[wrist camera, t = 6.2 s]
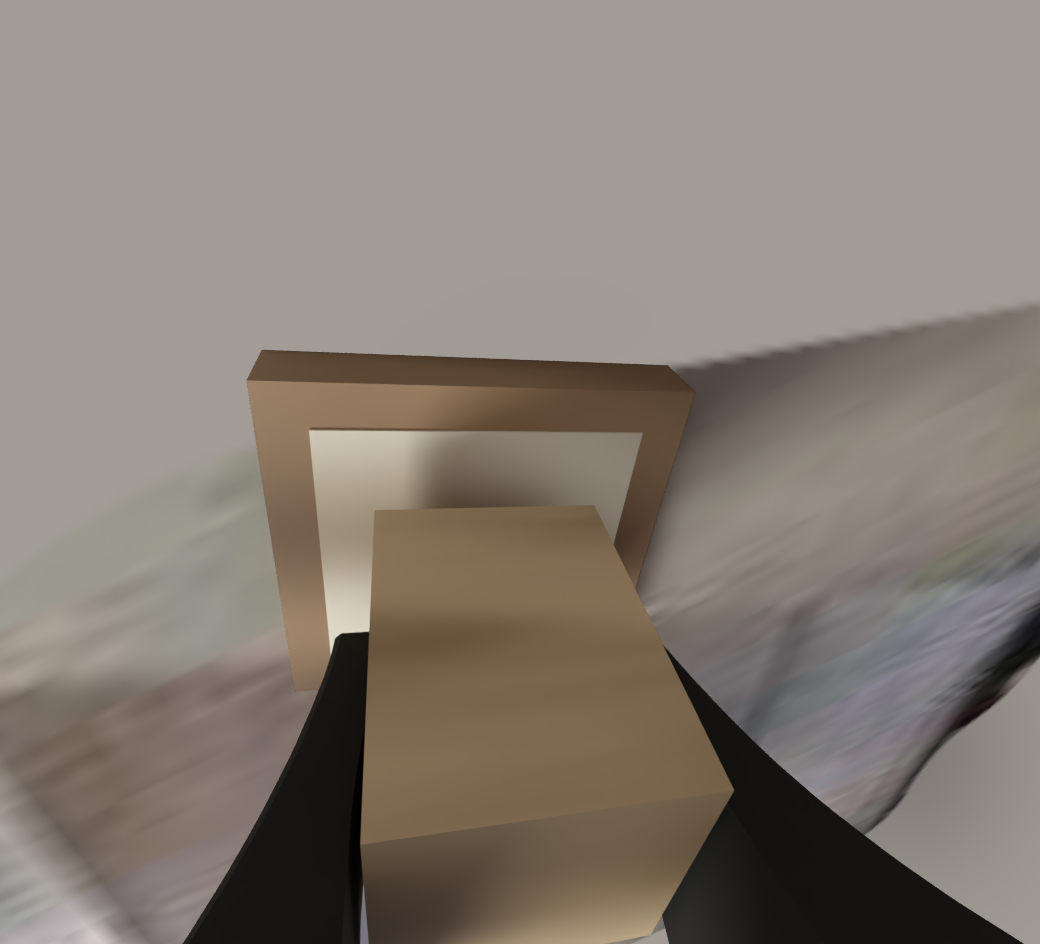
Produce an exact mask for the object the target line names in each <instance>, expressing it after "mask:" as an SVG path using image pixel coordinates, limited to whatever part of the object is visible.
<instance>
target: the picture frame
mask: <svg viewBox="0 0 1040 944" xmlns="http://www.w3.org/2000/svg"><path fill="white" fill-rule="evenodd" d="M247 386H248V393H249V399H250V405H251V412H252V418H253V425H254V432H255V437H256V444H257V451H258V457H259V464H260V470H261V476H262V483H263V489H264V496H265V502H266V509H267V515H268V521H269V528H270V534H271V541H272V547H273V553H274V560H275V566H276V573H277V579H278V585H279V592H280V598H281V605H282V611H283V618H284V624H285V630H286V637H287V643H288V650H289V656H290V662H291V669H292V675H293V682H294V688H295V692H296V691H308V690H319V688H320V686H321V683H322V681H323V678H324V675H325V672H326V669H327V666H328V663H329V660H330V656H331V653H332V649H333V645H334V641H335V638H336V637H337V636H339V635H340V634H341V633H354V632H369V627H370V604H371V580H372V557H373V533H374V510H400V509H444V508H487V507H531V506H574V505H594V506H595V508H596V510H597V512H598V514H599V516H600V518H601V520H602V522H603V524H604V526H605V528H606V530H607V532H608V534H609V536H610V538H611V540H612V543H613V545H614V547H615V549H616V551H617V553H618V555H619V557H620V559H621V561H622V563H623V565H624V567H625V569H626V571H627V573H628V575H629V577H630V579H631V581H632V583H633V585H634V587H636V584H637V581H638V577H639V574H640V571H641V568H642V564H643V561H644V558H645V555H646V551H647V548H648V545H649V542H650V538H651V535H652V532H653V529H654V525H655V522H656V519H657V516H658V512H659V509H660V506H661V503H662V499H663V496H664V493H665V489H666V486H667V483H668V480H669V476H670V473H671V470H672V467H673V463H674V460H675V457H676V454H677V450H678V447H679V444H680V441H681V437H682V434H683V431H684V428H685V424H686V421H687V418H688V415H689V411H690V408H691V405H692V401H693V398H694V395H695V392H694V391H693V390H692V389H691V388H690V387H689V386H688V385H687V384H686V383H685V382H684V381H683V380H682V379H681V378H680V377H679V376H678V375H677V374H676V373H675V372H674V371H673V370H672V369H671V368H670V367H669V366H668V365H644V364H616V363H590V362H564V361H563V362H562V361H539V360H512V359H486V358H459V357H434V356H407V355H406V356H405V355H380V354H355V353H329V352H300V351H275V350H262V351H261V353H260V355H259V357H258V359H257V361H256V363H255V365H254V367H253V369H252V371H251V373H250V375H249V377H248V379H247Z"/></svg>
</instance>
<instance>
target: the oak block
mask: <svg viewBox="0 0 1040 944" xmlns="http://www.w3.org/2000/svg"><path fill="white" fill-rule="evenodd" d="M733 792H734V789H733V787H732V785H731V783H730V781H729V779H728V777H727V775H726V772H725V770H724V768H723V766H722V764H721V762H720V760H719V758H718V756H717V754H716V752H715V750H714V748H713V746H712V744H711V742H710V740H709V738H708V736H707V734H706V732H705V730H704V728H703V726H702V724H701V722H700V720H699V718H698V716H697V713H696V711H695V709H694V707H693V705H692V703H691V701H690V699H689V697H688V695H687V693H686V691H685V689H684V687H683V685H682V683H681V681H680V679H679V677H678V675H677V673H676V671H675V669H674V667H673V665H672V663H671V661H670V659H669V656H668V654H667V652H666V650H665V648H664V646H663V644H662V642H661V640H660V638H659V636H658V634H657V632H656V630H655V628H654V626H653V624H652V622H651V620H650V618H649V616H648V614H647V612H646V610H645V608H644V606H643V604H642V602H641V600H640V597H639V595H638V593H637V591H636V589H635V587H634V585H633V583H632V581H631V579H630V577H629V575H628V573H627V571H626V569H625V567H624V565H623V563H622V561H621V559H620V557H619V555H618V553H617V551H616V549H615V547H614V545H613V543H612V540H611V538H610V536H609V534H608V532H607V530H606V528H605V526H604V524H603V522H602V520H601V518H600V516H599V514H598V512H597V510H596V508H595V506H594V505H574V506H531V507H487V508H444V509H400V510H374V533H373V557H372V580H371V604H370V627H369V651H368V674H367V698H366V721H365V745H364V768H363V792H362V815H361V839H360V848H361V859H362V871H363V883H364V894H365V906H366V918H367V929H368V941H369V944H607V943H612V942H617V941H622V940H627V939H632V938H637V937H642V936H647V935H651V933H652V931H653V930H654V928H655V926H656V924H657V923H658V921H659V919H660V917H661V916H662V914H663V912H664V911H665V909H666V907H667V905H668V904H669V902H670V900H671V899H672V897H673V895H674V893H675V892H676V890H677V888H678V886H679V885H680V883H681V881H682V880H683V878H684V876H685V874H686V873H687V871H688V869H689V868H690V866H691V864H692V862H693V861H694V859H695V857H696V855H697V854H698V852H699V850H700V849H701V847H702V845H703V843H704V842H705V840H706V838H707V837H708V835H709V833H710V831H711V830H712V828H713V826H714V825H715V823H716V821H717V819H718V818H719V816H720V814H721V812H722V811H723V809H724V807H725V806H726V804H727V802H728V800H729V799H730V797H731V795H732V794H733Z"/></svg>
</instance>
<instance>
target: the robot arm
mask: <svg viewBox="0 0 1040 944" xmlns="http://www.w3.org/2000/svg"><path fill="white" fill-rule="evenodd" d="M663 646H664V645H663ZM664 648H665V647H664ZM665 650H666V652H667V654H668V656H669V659H670V661H671V663H672V665H673V667H674V669H675V671H676V673H677V675H678V677H679V679H680V681H681V683H682V685H683V687H684V689H685V691H686V693H687V695H688V697H689V699H690V701H691V703H692V705H693V707H694V709H695V711H696V713H697V716H698V718H699V720H700V722H701V724H702V726H703V728H704V730H705V732H706V734H707V736H708V738H709V740H710V742H711V744H712V746H713V748H714V750H715V752H716V754H717V756H718V758H719V760H720V762H721V764H722V766H723V768H724V770H725V772H726V775H727V777H728V779H729V781H730V783H731V785H732V787H733V789H734V792H733V794H732V795H731V797H730V799H729V800H728V802H727V804H726V806H725V807H724V809H723V811H722V812H721V814H720V816H719V818H718V819H717V821H716V823H715V825H714V826H713V828H712V830H711V831H710V833H709V835H708V837H707V838H706V840H705V842H704V843H703V845H702V847H701V849H700V850H699V852H698V854H697V855H696V857H695V859H694V861H693V862H692V864H691V866H690V868H689V869H688V871H687V873H686V874H685V876H684V878H683V880H682V881H681V883H680V885H679V886H678V888H677V890H676V892H675V893H674V895H673V897H672V899H671V900H670V902H669V904H668V905H667V907H666V909H665V911H664V912H663V914H662V917H663V921H664V925H665V928H666V932H667V937H668V941H669V944H1023V943H1022V942H1020V941H1019V940H1017V939H1015V938H1014V937H1012V936H1011V935H1009V934H1007V933H1006V932H1004V931H1003V930H1001V929H1000V928H998V927H996V926H995V925H993V924H992V923H990V922H989V921H987V920H985V919H984V918H982V917H981V916H979V915H977V914H976V913H974V912H973V911H971V910H969V909H968V908H966V907H965V906H963V905H962V904H960V903H959V902H957V901H956V900H954V899H952V898H951V897H950V896H948V895H947V894H945V893H944V892H942V891H941V890H939V889H938V888H937V887H935V886H934V885H932V884H931V883H929V882H928V881H926V880H925V879H924V878H922V877H921V876H919V875H918V874H916V873H915V872H913V871H912V870H910V869H909V868H908V867H906V866H905V865H903V864H902V863H900V862H899V861H898V860H896V859H895V858H894V857H892V856H891V855H890V854H888V853H887V852H886V851H884V850H883V849H881V848H880V847H879V846H878V845H876V844H875V843H874V842H872V841H871V840H870V839H869V838H867V837H866V836H865V835H863V834H862V833H861V832H859V831H858V830H857V829H855V828H854V827H853V826H852V825H850V824H849V823H848V822H846V821H845V820H844V819H842V818H841V817H840V816H838V815H837V814H836V813H835V812H833V811H832V810H831V809H830V808H829V807H827V806H826V805H825V804H824V803H822V802H821V801H820V800H819V799H818V798H816V797H815V796H814V795H813V794H812V793H810V792H809V791H808V790H807V789H806V788H805V787H804V786H802V785H801V784H800V783H799V782H798V781H797V780H795V779H794V778H793V777H792V776H791V775H790V774H789V773H787V772H786V771H785V770H784V769H783V768H782V767H781V766H779V765H778V764H777V763H776V762H775V761H774V760H773V759H772V758H771V757H770V756H769V755H768V754H766V753H765V752H764V751H763V750H762V749H761V748H760V747H759V746H758V745H757V744H756V743H755V742H754V741H753V740H752V739H751V738H750V737H749V736H748V735H747V734H746V733H745V732H744V731H743V730H742V729H741V728H740V727H739V726H738V725H737V724H736V723H735V722H734V721H733V720H732V719H731V718H730V717H729V716H728V715H727V714H726V713H725V712H724V711H723V710H722V709H721V708H720V707H719V706H718V705H717V704H716V703H715V702H714V701H713V700H712V698H711V697H710V696H709V695H708V694H707V693H706V692H705V691H704V690H703V689H702V688H701V687H700V686H699V685H698V684H697V682H696V681H695V680H694V679H693V678H692V677H691V676H690V675H689V674H688V673H687V671H686V670H685V669H684V668H683V667H682V666H681V665H680V664H679V662H678V661H677V660H676V659H675V658H674V657H673V656H672V655H671V653H670V652H669V651H668V650H667V649H666V648H665ZM368 651H369V632H354V633H341V634H340V635H339V636H337V637H336V638H335V641H334V645H333V649H332V653H331V656H330V660H329V663H328V666H327V669H326V672H325V675H324V678H323V681H322V683H321V686H320V688H319V691H318V694H317V696H316V699H315V701H314V704H313V706H312V709H311V711H310V713H309V715H308V718H307V720H306V722H305V725H304V727H303V729H302V731H301V734H300V736H299V738H298V740H297V743H296V745H295V747H294V749H293V751H292V754H291V756H290V758H289V760H288V762H287V764H286V766H285V768H284V770H283V772H282V774H281V776H280V778H279V780H278V781H277V783H276V785H275V787H274V789H273V791H272V793H271V795H270V797H269V799H268V801H267V803H266V805H265V807H264V809H263V811H262V813H261V814H260V816H259V818H258V820H257V822H256V824H255V825H254V827H253V829H252V831H251V833H250V834H249V836H248V838H247V840H246V841H245V843H244V845H243V847H242V848H241V850H240V852H239V854H238V855H237V857H236V859H235V860H234V862H233V864H232V865H231V867H230V869H229V871H228V872H227V874H226V876H225V877H224V879H223V881H222V882H221V884H220V885H219V887H218V889H217V890H216V892H215V893H214V895H213V897H212V898H211V900H210V901H209V903H208V905H207V906H206V908H205V910H204V911H203V913H202V914H201V916H200V918H199V919H198V921H197V922H196V924H195V926H194V927H193V929H192V930H191V932H190V933H189V935H188V936H187V938H186V940H185V941H184V943H183V944H369V941H368V929H367V918H366V906H365V894H364V883H363V871H362V859H361V848H360V839H361V815H362V792H363V768H364V745H365V721H366V698H367V674H368Z"/></svg>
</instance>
